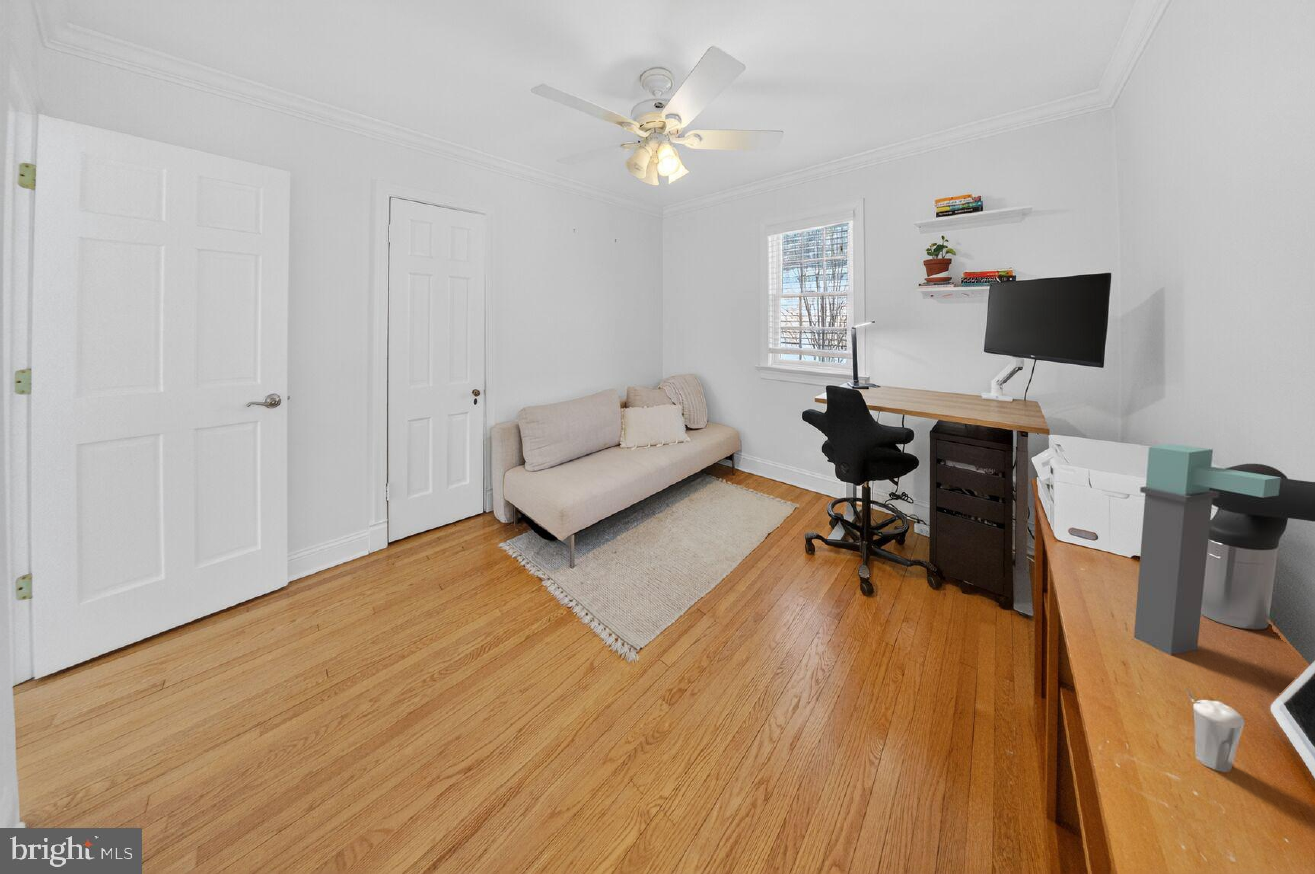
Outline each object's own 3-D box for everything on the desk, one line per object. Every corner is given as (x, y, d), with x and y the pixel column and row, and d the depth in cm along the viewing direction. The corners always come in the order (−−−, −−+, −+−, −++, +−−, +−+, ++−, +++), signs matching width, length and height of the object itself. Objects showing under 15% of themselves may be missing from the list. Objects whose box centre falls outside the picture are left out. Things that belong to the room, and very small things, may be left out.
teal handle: (1145, 486, 87) (1149, 447, 86) (1167, 483, 88) (1171, 444, 87) (1256, 510, 72) (1262, 462, 71) (1282, 506, 73) (1288, 458, 72)
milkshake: (1185, 740, 68) (1191, 682, 67) (1242, 766, 64) (1250, 704, 62) (1175, 754, 66) (1181, 694, 65) (1233, 782, 62) (1241, 718, 60)
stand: (1129, 636, 92) (1140, 487, 87) (1158, 630, 93) (1171, 482, 88) (1171, 657, 85) (1186, 497, 80) (1202, 651, 86) (1219, 492, 81)
